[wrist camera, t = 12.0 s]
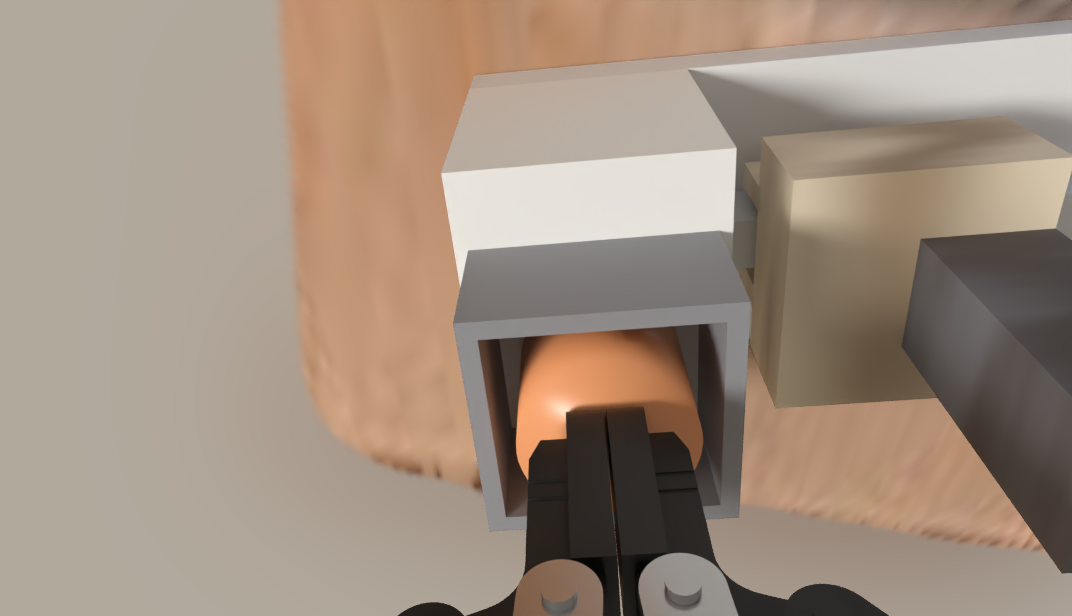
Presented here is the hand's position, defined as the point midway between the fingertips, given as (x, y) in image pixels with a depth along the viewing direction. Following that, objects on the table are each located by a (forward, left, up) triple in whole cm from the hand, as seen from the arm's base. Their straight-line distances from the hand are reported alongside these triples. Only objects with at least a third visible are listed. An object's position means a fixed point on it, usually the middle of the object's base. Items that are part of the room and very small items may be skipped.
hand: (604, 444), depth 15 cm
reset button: (0, 0, -3) cm, 3 cm away
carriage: (-8, 0, -9) cm, 12 cm away
